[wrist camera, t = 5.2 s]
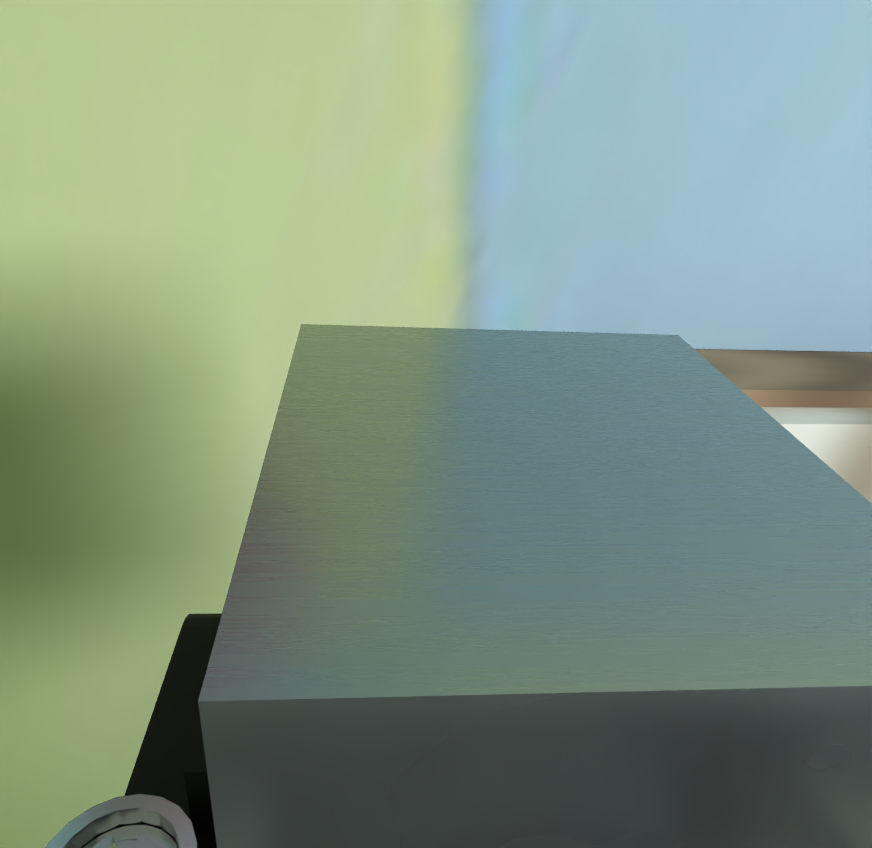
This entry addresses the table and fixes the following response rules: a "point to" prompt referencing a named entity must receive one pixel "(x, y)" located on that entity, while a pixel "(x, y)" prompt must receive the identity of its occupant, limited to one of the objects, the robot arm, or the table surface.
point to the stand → (812, 401)
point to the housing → (539, 607)
